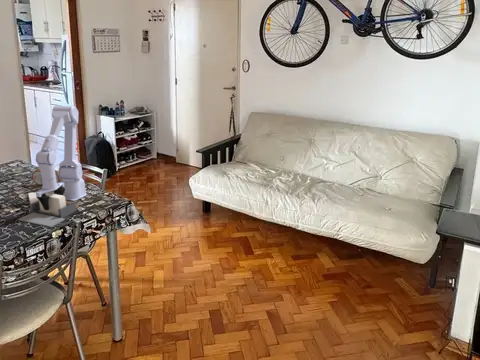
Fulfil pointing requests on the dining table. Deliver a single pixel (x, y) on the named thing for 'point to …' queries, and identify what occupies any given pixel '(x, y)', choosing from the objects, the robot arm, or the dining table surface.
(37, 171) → the tin
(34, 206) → the frame
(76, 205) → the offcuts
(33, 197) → the phone case
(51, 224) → the mat
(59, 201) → the white rectangular block
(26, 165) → the dining table surface
